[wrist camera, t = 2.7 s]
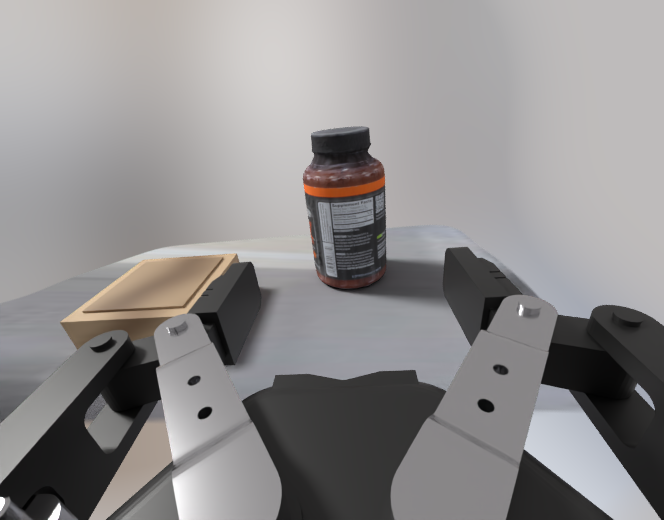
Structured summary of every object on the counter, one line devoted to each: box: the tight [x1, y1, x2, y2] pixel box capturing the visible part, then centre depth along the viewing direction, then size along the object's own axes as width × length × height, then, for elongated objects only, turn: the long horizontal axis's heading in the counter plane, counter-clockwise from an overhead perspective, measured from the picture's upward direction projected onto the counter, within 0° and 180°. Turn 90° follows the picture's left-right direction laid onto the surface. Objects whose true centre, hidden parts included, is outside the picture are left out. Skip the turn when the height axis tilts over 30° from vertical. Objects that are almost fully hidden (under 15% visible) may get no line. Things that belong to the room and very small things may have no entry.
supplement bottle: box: [303, 127, 386, 289], centre depth 23 cm, size 6×6×11 cm
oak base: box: [60, 254, 239, 349], centre depth 21 cm, size 8×8×3 cm
